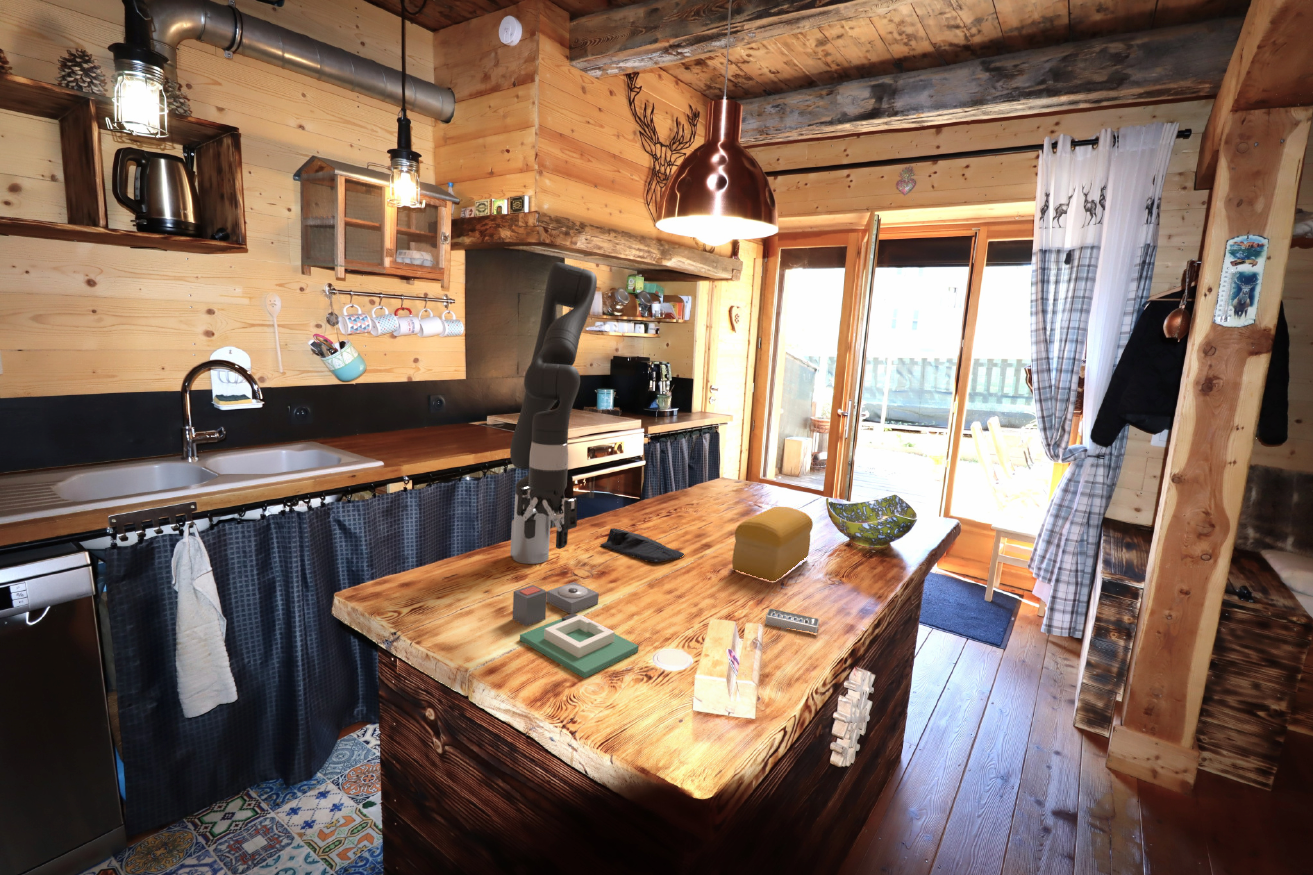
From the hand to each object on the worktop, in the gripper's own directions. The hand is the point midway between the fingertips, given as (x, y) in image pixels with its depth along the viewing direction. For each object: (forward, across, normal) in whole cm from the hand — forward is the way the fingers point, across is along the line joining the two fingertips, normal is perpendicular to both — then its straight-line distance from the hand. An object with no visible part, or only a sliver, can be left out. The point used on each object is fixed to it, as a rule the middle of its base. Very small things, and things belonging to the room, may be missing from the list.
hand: (544, 542), depth 126 cm
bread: (+17, -22, -66) cm, 72 cm away
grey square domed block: (+16, +1, -10) cm, 19 cm away
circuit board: (+16, -13, +3) cm, 21 cm away
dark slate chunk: (+17, +9, -50) cm, 53 cm away
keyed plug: (+16, +2, +2) cm, 17 cm away
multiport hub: (+17, -41, -35) cm, 56 cm away
